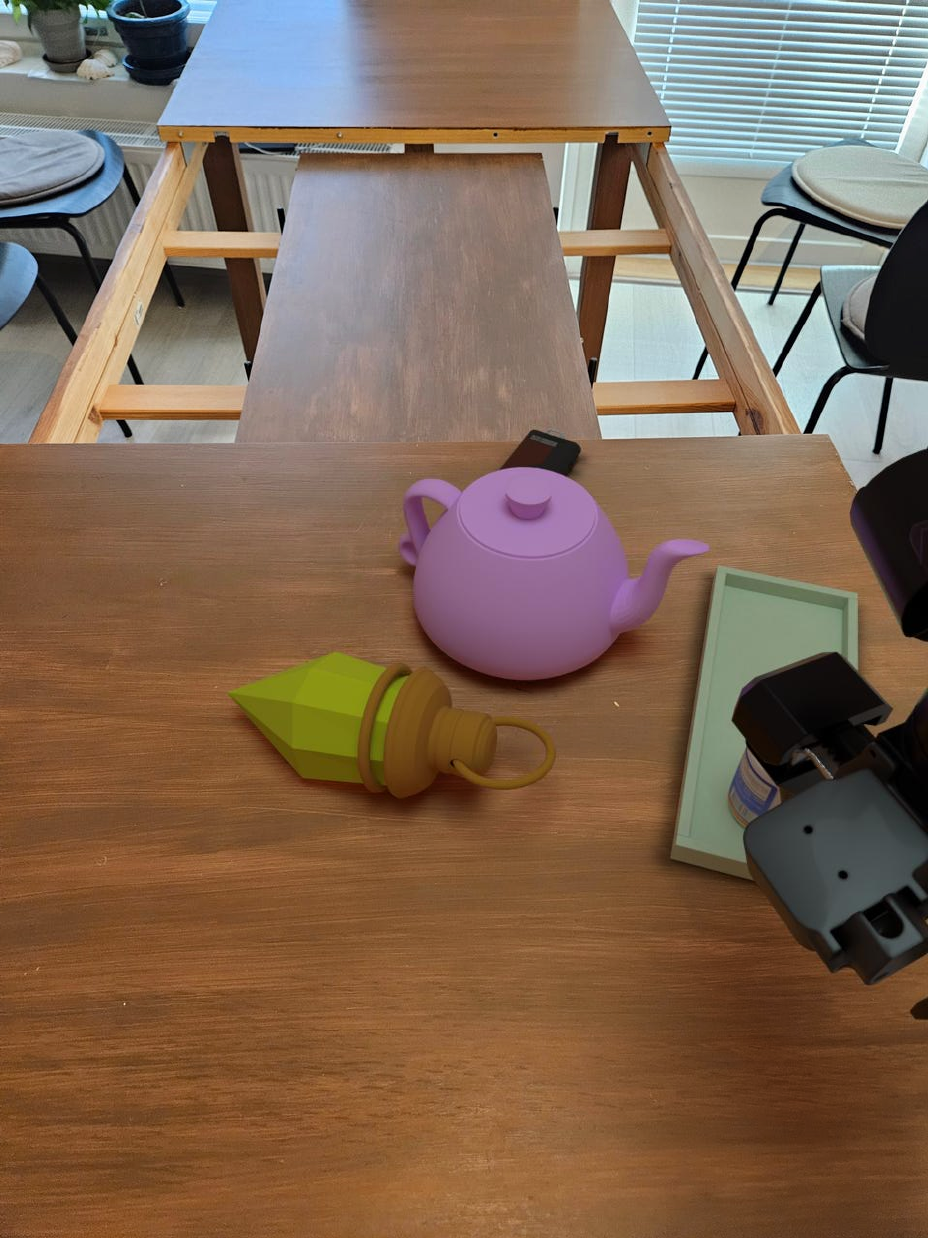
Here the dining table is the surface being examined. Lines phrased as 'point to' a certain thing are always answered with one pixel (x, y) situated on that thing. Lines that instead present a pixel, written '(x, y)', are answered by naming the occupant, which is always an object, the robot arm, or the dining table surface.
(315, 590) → the dining table surface
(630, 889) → the dining table surface
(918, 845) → the robot arm
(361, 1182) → the dining table surface
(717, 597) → the tray
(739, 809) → the pill bottle
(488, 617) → the teapot
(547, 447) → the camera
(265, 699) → the plumb bob
